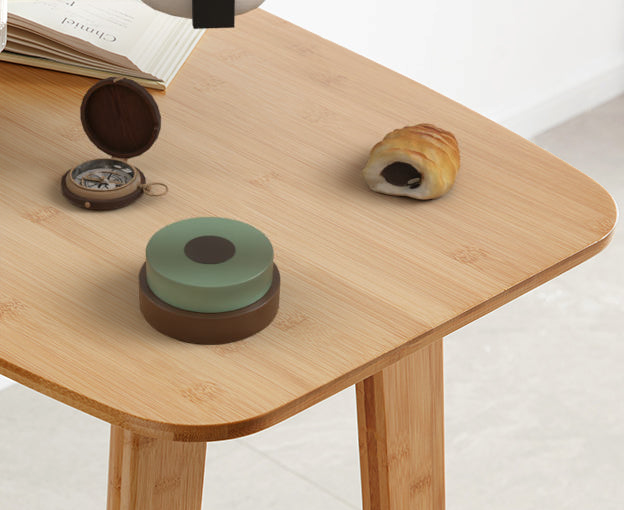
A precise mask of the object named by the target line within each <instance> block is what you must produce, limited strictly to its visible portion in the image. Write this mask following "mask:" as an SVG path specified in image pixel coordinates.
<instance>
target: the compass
mask: <svg viewBox="0 0 624 510" xmlns="http://www.w3.org/2000/svg"><path fill="white" fill-rule="evenodd" d="M79 115H80V117H79V119H80V123H81V126H82V130H83V131H84V133H85V135H86V137H87V138H88V140H89V141H90V143H92V144H93V145H94V146H95V147H96V148H97V149H98V150H100V151H101V152H103V153H104V154H105V155H108V156H110V157H98V158H91V159H87V160H84V161H82V162H79V163H78V164H76V165H75V166H73V167H72V168H69V169H67V171H66V172H65V173H64V174H63V175H62V177H61V180H60V188H61V189H60V190H61V192H62V196H64V198H66V199H67V201H69V202H71V203H72V204H75V205H76V206H78V207H82V208H86V209H89V210H100V211H101V210H113V209H114V210H115V209H118V208H119V209H120V208H122V207H123V208H124V207H126V206H128V205H131V204H133V203H135V202H136V201H137V200H139V199H140V198H141V197H142V196H143V194H145V195H146V196H149V197H162V196H164V195H166V194H167V193H168V192H169V187H168V185H167V184H165V183H162V182H156V181H155V182H149V183H147V178H146V176H145V173H144V172H142V171H141V169H139V168H138V167H136V166H135V165H132V164H130V163H128V160H130V159H134V158H136V157H140V156H142V155H143V154H144V153H146V152H147V151H149V150H150V149H151V148H152V147H153V145H154V144H155V143H156V141H157V140H158V139H159V135H160V132H161V129H162V116H161V112H160V109H159V104H158V103H157V102H156V99H155V98H154V96H153V95H152V94H151V92H150V91H149V90H147V89H146V87H145V86H144V85H142V84H140V83H138V82H137V81H135V80H133V79H130V78H127V77H124V76H122V75H119V76H109V77H106V78H103V79H100V80H99V81H97V82H96V83H95V84H93V85H91V87H90V88H88V90H87V91H86V92H85V94H84V95H83V97H82V100H81V103H80V107H79ZM154 185H156V186H157V185H159V186H163V187H165V191H164V192H162V193H150V192H151V191H152V189H153V187H152V186H154Z"/></svg>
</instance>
